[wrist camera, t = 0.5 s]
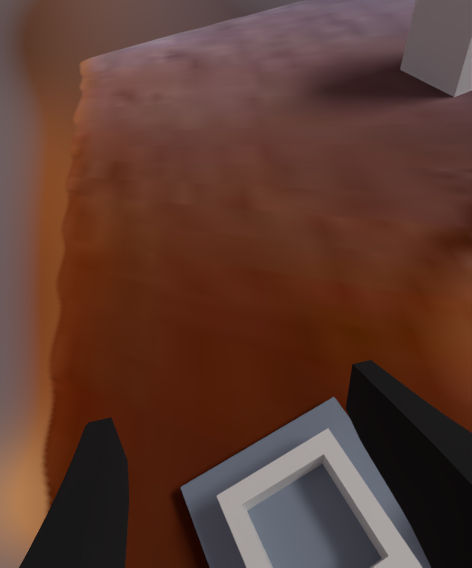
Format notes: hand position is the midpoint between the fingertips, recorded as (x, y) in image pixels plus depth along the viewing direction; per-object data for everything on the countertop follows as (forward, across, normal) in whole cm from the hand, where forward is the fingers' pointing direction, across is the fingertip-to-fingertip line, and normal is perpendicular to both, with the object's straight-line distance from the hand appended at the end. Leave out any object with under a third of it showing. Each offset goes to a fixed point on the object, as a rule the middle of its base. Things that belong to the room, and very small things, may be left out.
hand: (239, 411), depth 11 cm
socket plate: (+3, -5, +18) cm, 19 cm away
